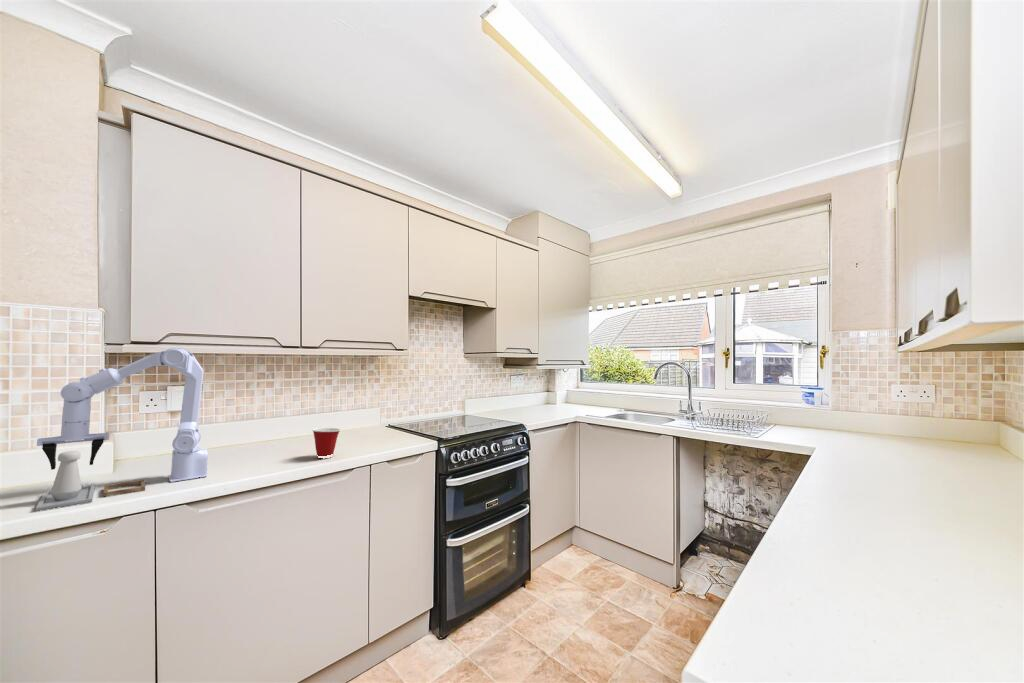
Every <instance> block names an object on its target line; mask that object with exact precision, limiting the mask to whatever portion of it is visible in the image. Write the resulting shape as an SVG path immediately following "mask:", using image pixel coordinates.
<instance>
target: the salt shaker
mask: <svg viewBox="0 0 1024 683" xmlns="http://www.w3.org/2000/svg"><path fill="white" fill-rule="evenodd" d="M81 456H82V455H81V452H80V451H78V450H68V451H64V452H61V453H59V454H58V456H57V461H58V462H60V463H59V465H58V468H57V472H56V476H55V478H54V481H53V485H52V486H51V490H50V491H51V495H52V496H53V498H54V500H57V501H62V500H68V499H72V498H75V497H77V496H78V494H79V492H80V490H81V488H82V487H83V486H82V481H81V477H80V471H79V465H78V460H80V459H81Z"/></svg>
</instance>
